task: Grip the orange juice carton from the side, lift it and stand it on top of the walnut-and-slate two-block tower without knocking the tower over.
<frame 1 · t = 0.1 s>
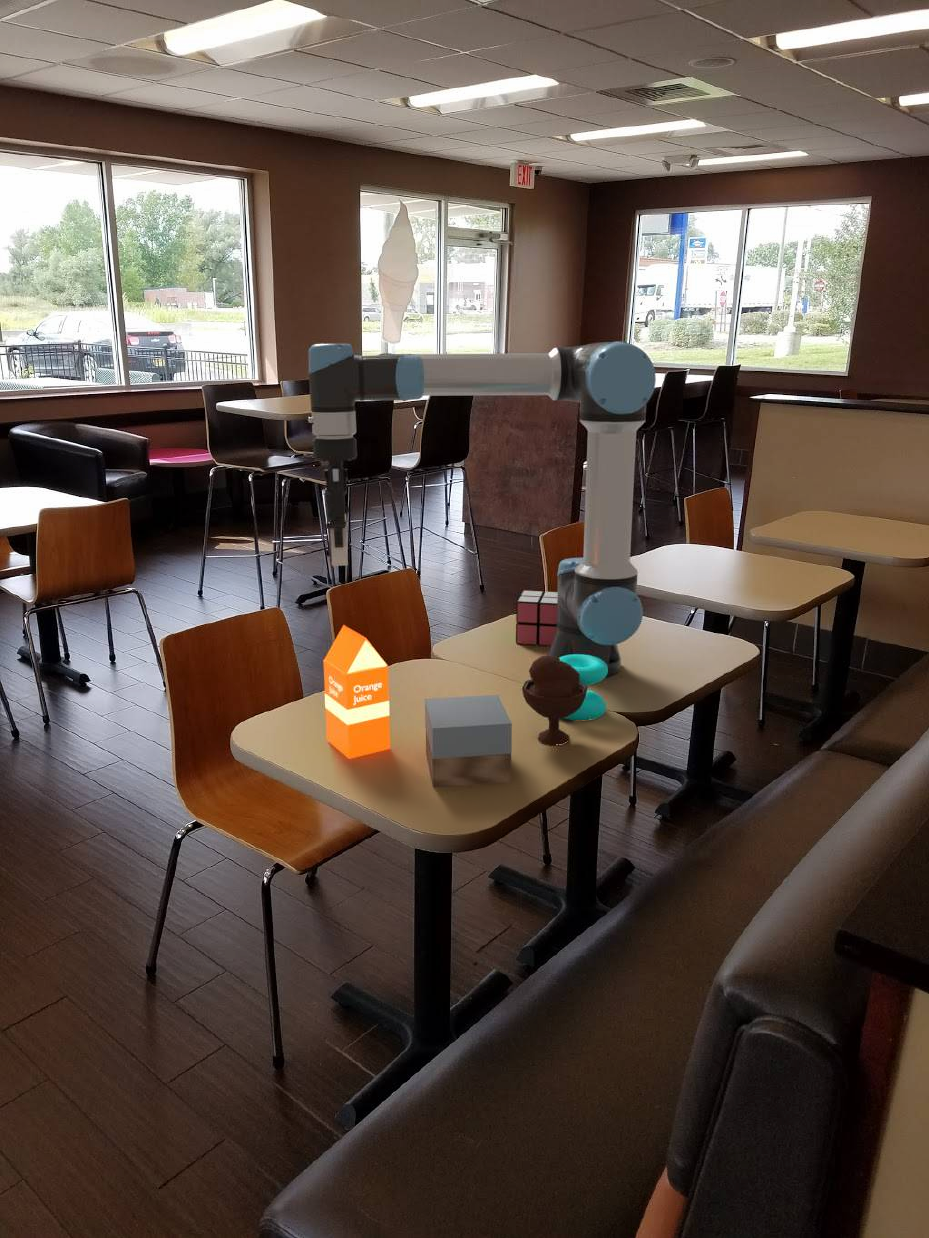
hand: (340, 556, 167), 28 cm above the table, tool pointing down, fingers open, 13 cm apart
orange juice: (358, 745, 156), on the table
upper block: (467, 740, 147), point 5 cm above the table
ice cream bowl: (553, 740, 158), on the table
lower block: (466, 769, 148), on the table
donuts: (578, 713, 170), on the table
puzzle cube: (540, 640, 212), on the table
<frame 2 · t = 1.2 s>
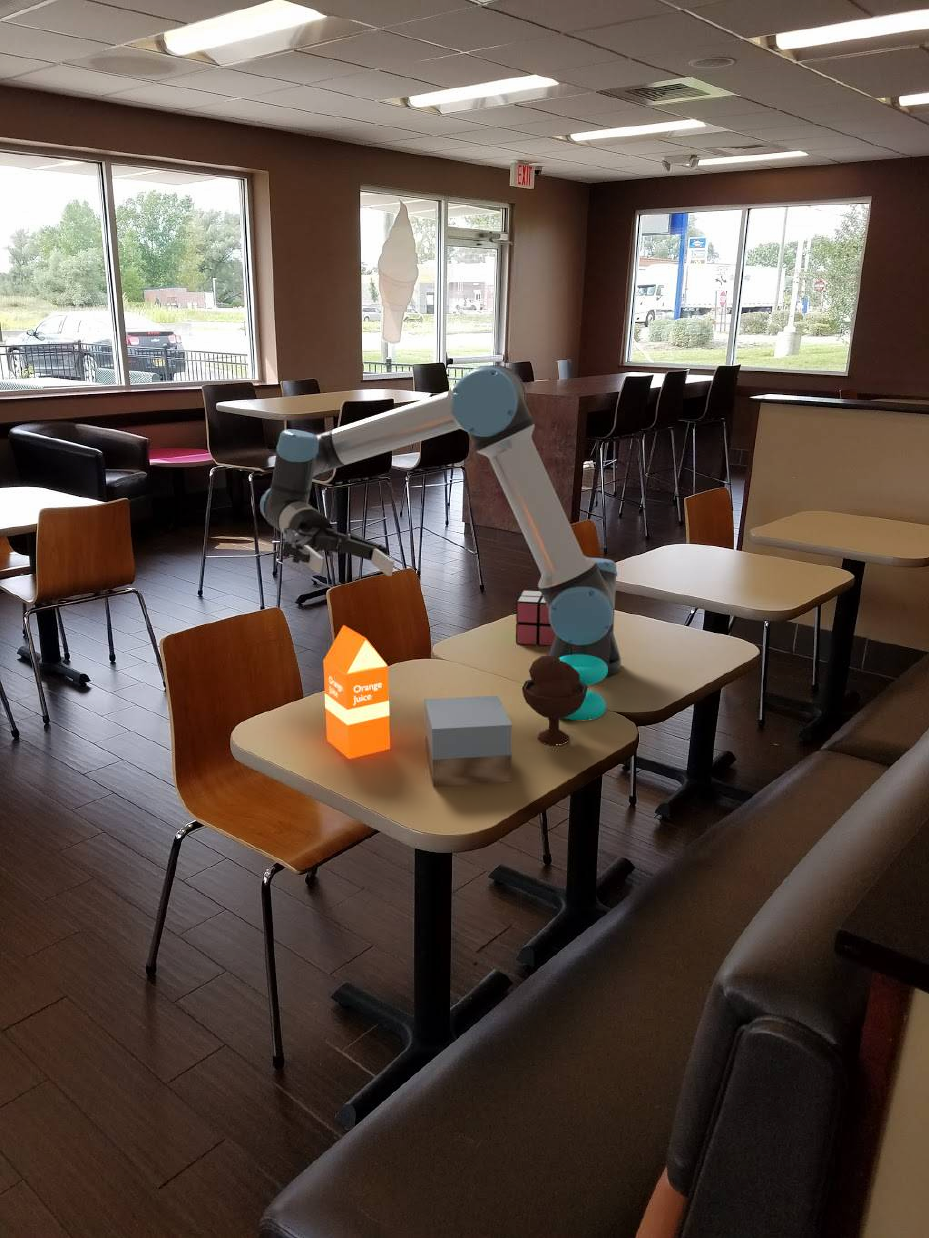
hand: (356, 567, 158), 28 cm above the table, tool horizontal, fingers open, 13 cm apart
upper block: (466, 741, 146), point 5 cm above the table, touching lower block
lower block: (467, 769, 148), on the table, touching upper block
everything else where it was.
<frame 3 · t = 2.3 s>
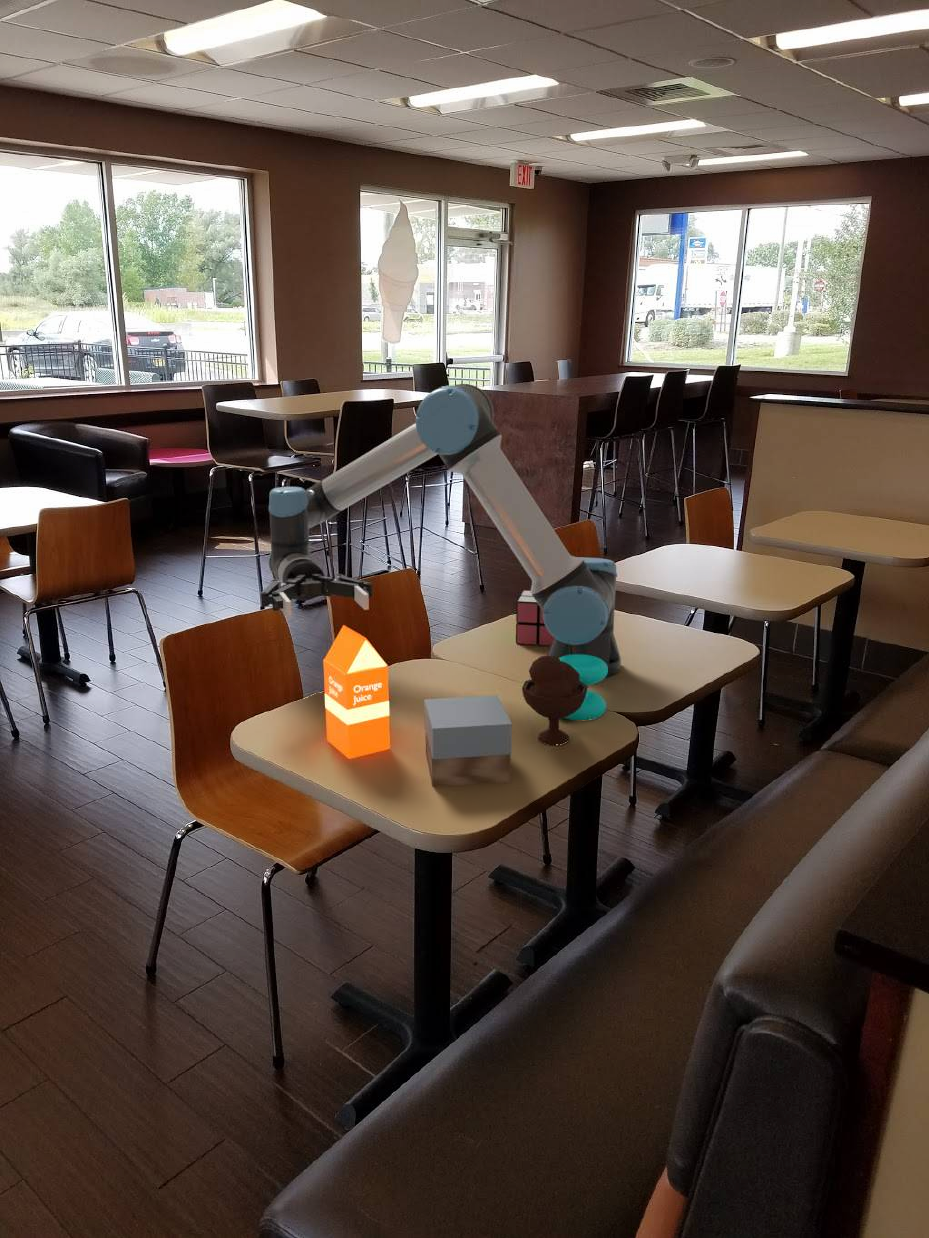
hand: (328, 605, 160), 21 cm above the table, tool horizontal, fingers open, 13 cm apart
nothing on the table moved.
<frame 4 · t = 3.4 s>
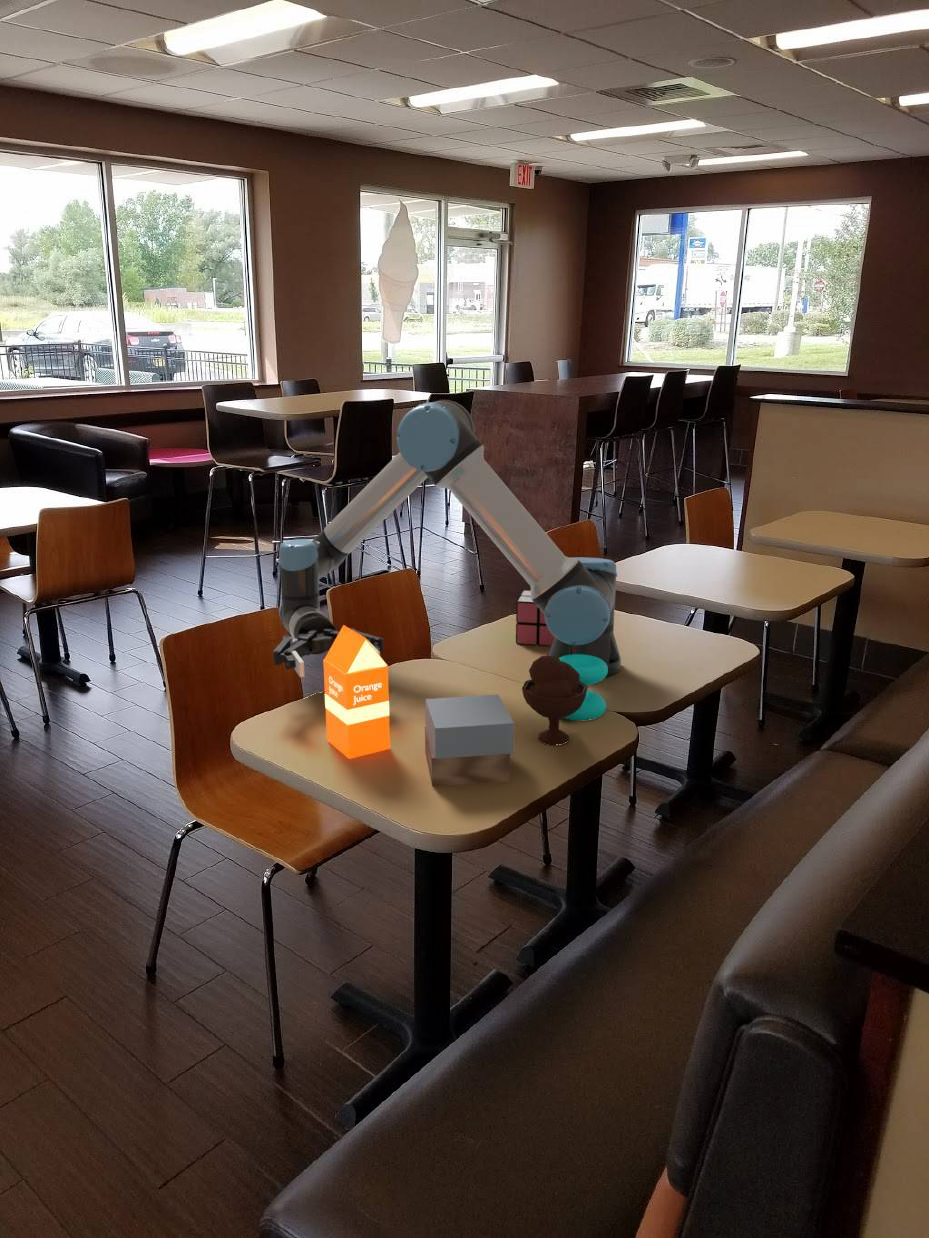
hand: (340, 664, 162), 11 cm above the table, tool horizontal, fingers open, 13 cm apart
nothing on the table moved.
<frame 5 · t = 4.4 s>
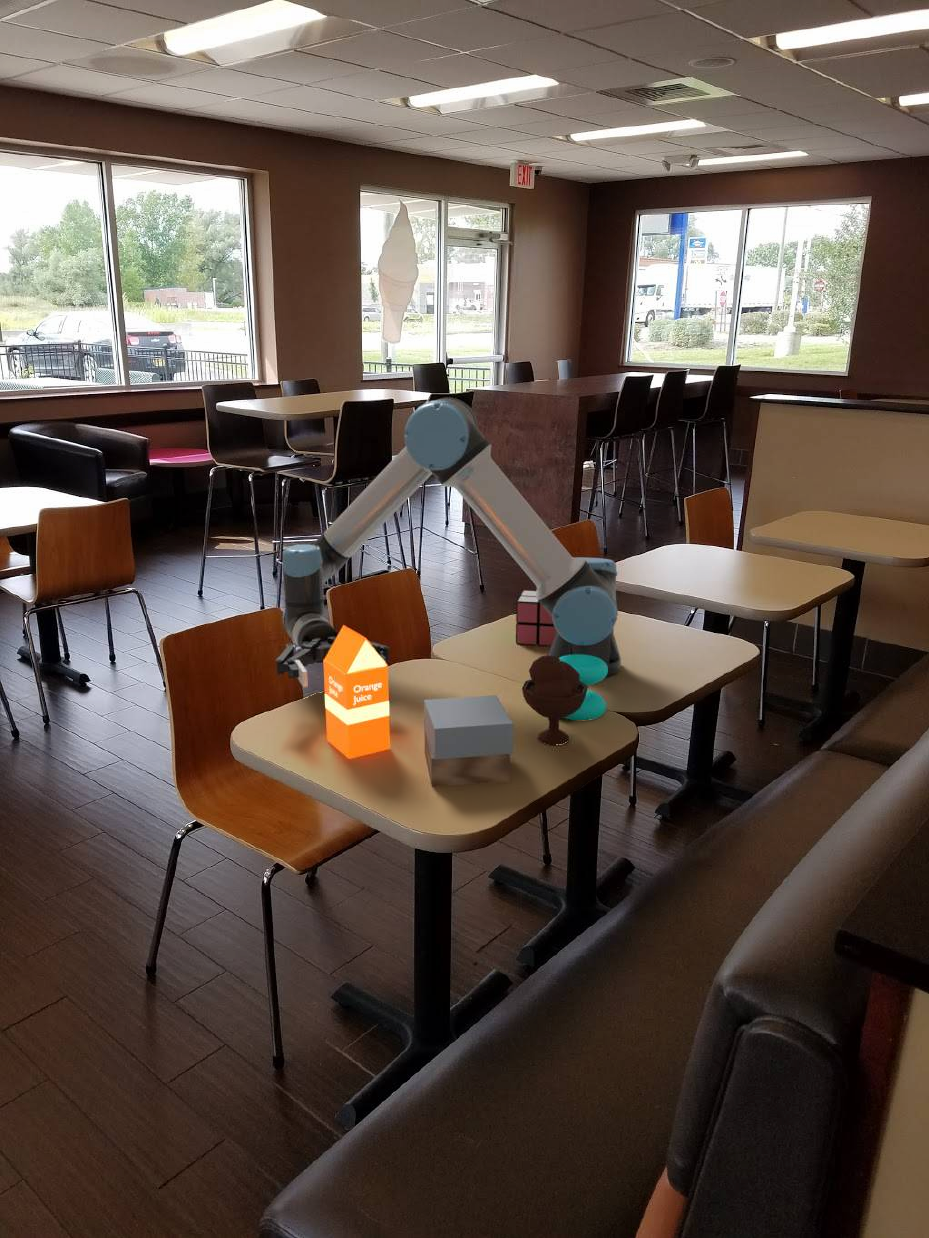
hand: (345, 674, 157), 11 cm above the table, tool horizontal, fingers open, 13 cm apart
nothing on the table moved.
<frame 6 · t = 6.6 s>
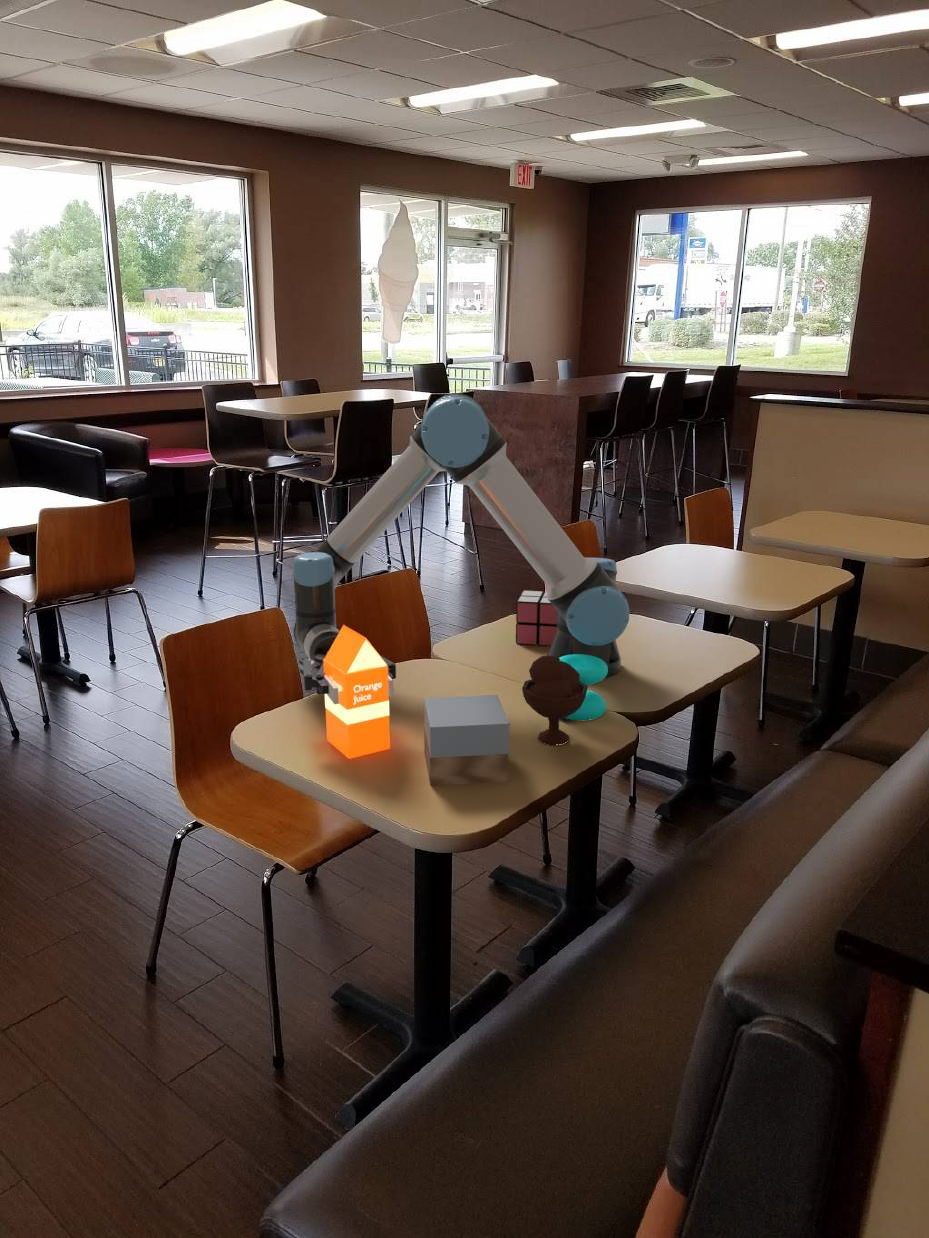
hand: (364, 692, 149), 11 cm above the table, tool horizontal, fingers closed on orange juice, 8 cm apart
orange juice: (358, 745, 156), on the table, touching gripper
everything else where it was.
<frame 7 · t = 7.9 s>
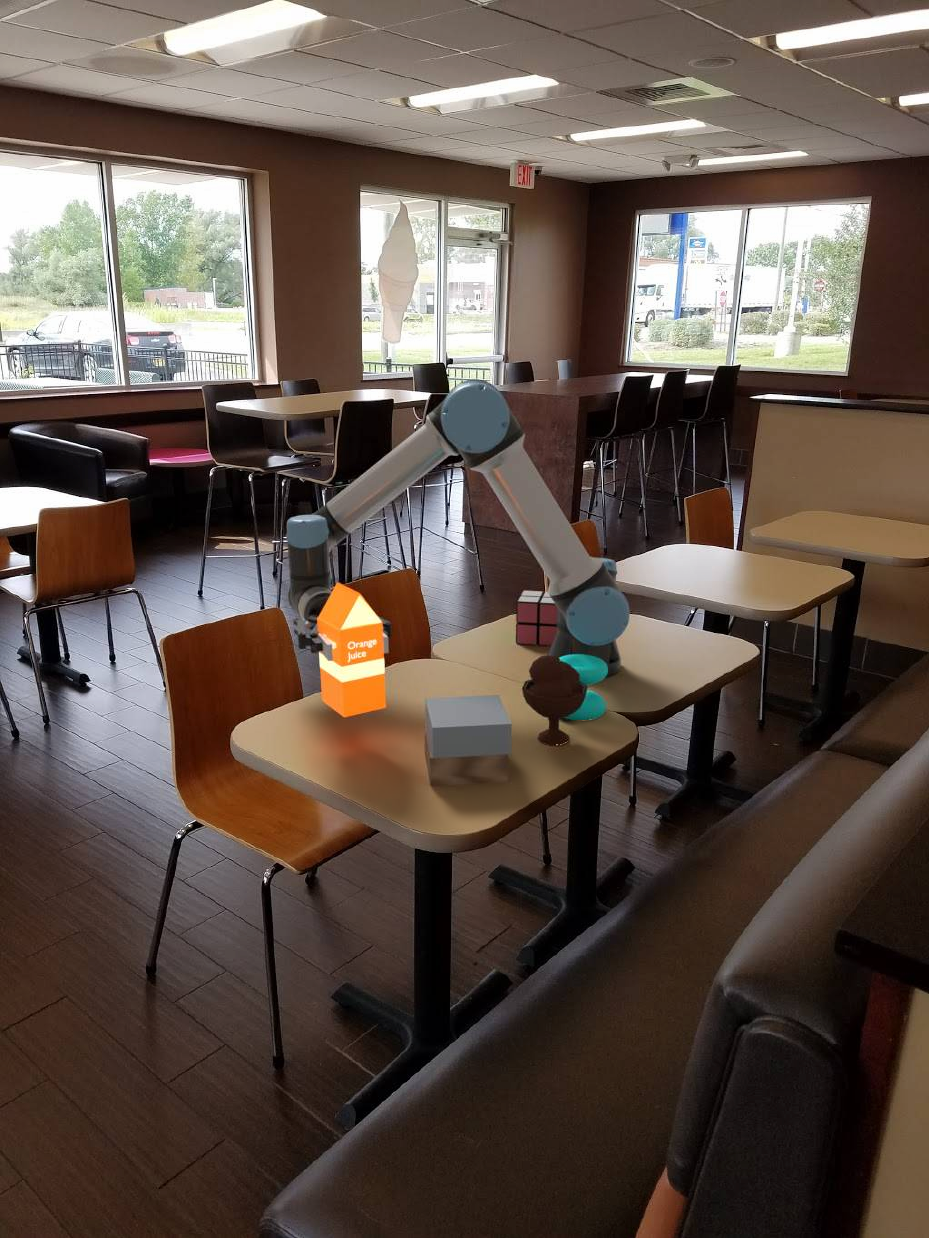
hand: (358, 648, 147), 18 cm above the table, tool horizontal, fingers closed on orange juice, 8 cm apart
orange juice: (353, 705, 154), point 7 cm above the table, touching gripper
upper block: (466, 740, 147), point 5 cm above the table
lower block: (465, 768, 148), on the table
everything else where it was.
when the fingers open (22 cm above the table, at t = 12.1 s): orange juice drops 2 cm, resting on upper block.
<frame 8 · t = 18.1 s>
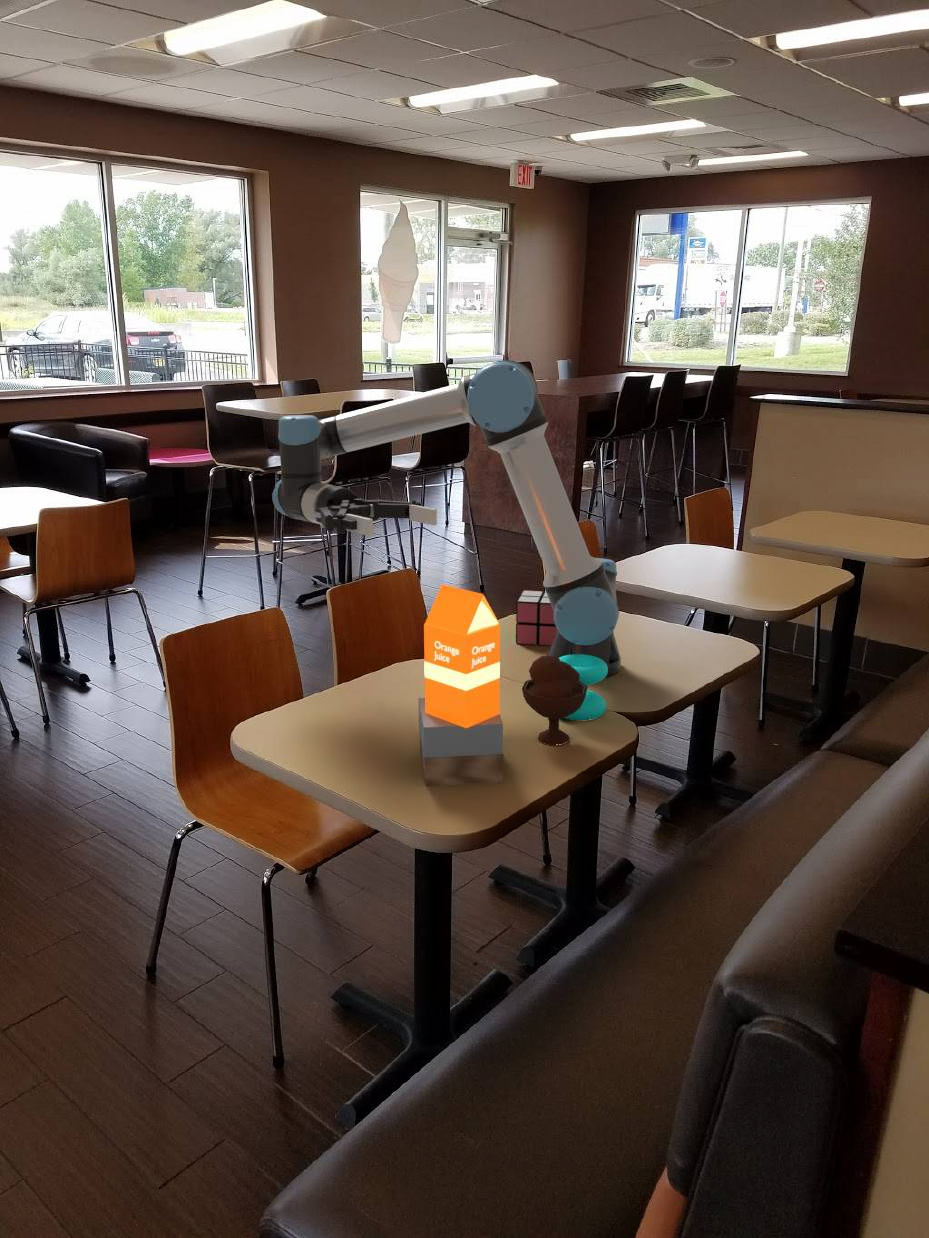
hand: (404, 522, 155), 36 cm above the table, tool horizontal, fingers open, 13 cm apart
orange juice: (462, 714, 145), point 9 cm above the table, touching upper block
upper block: (459, 740, 147), point 5 cm above the table, touching lower block, orange juice
lower block: (460, 769, 148), on the table, touching upper block
everything else where it was.
at the end: orange juice inside the target area on the upper block (1.3 cm from its centre), point 4.8 cm above the upper block's base; upper block inside the target area (1.3 cm from its centre), point 4.5 cm above the table; orange juice tilted 0° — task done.
